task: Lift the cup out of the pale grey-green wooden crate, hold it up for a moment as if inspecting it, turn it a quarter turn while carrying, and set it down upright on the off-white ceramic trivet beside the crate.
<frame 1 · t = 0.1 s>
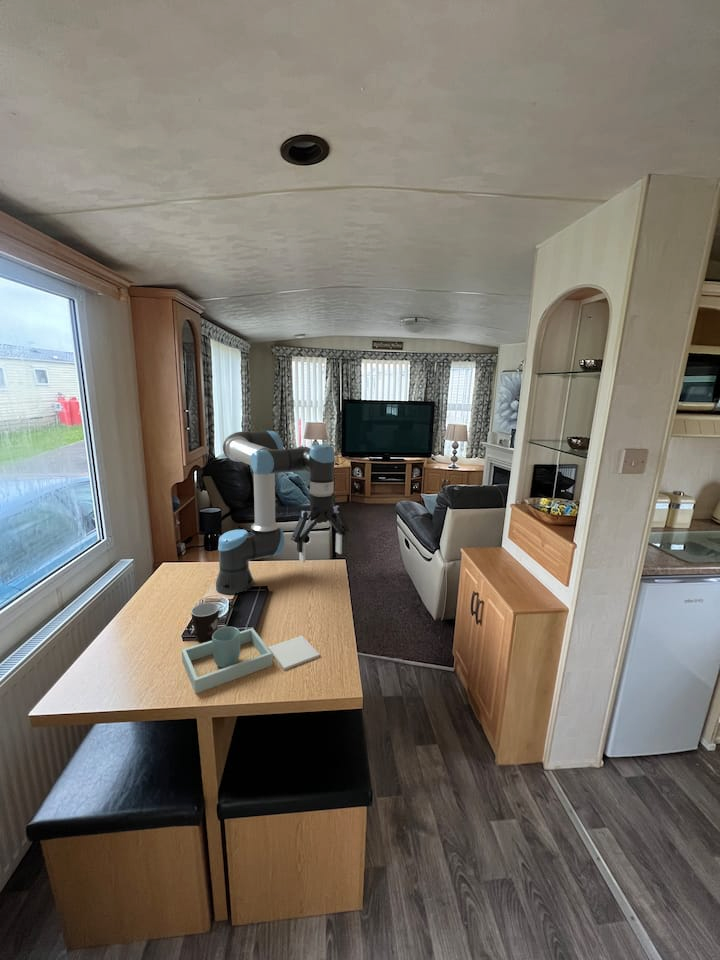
hand: (320, 556, 133), 28 cm above the table, fingers open, 13 cm apart
cup: (227, 664, 122), resting in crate
coffee mug: (202, 639, 134), on the table
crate: (227, 663, 122), on the table
trivet: (293, 652, 128), on the table
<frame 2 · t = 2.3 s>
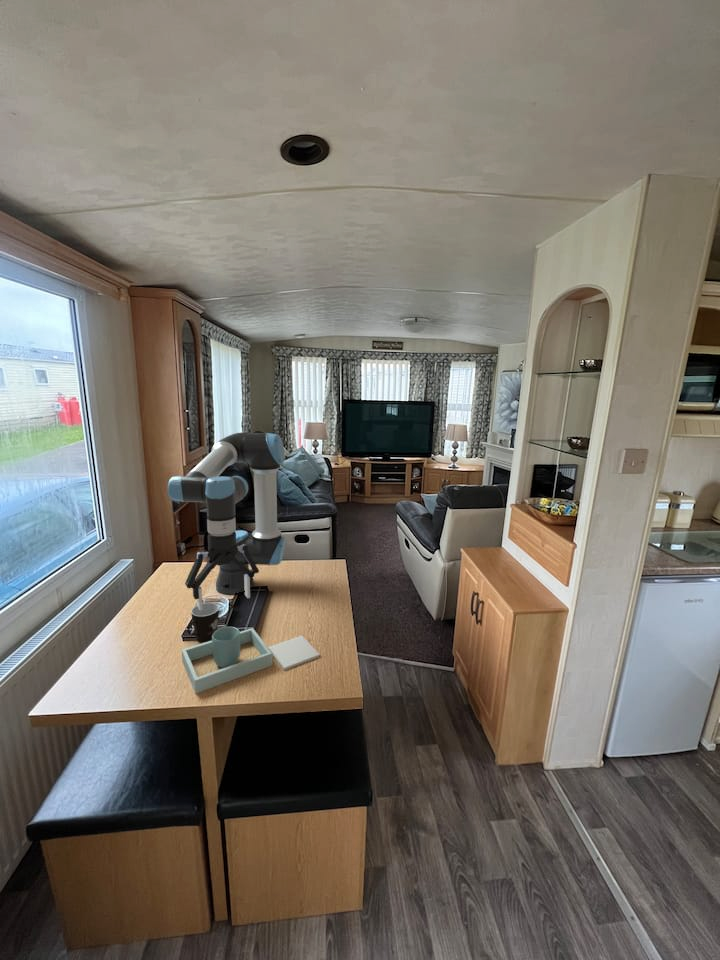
hand: (224, 602, 118), 20 cm above the table, fingers open, 13 cm apart
nothing on the table moved.
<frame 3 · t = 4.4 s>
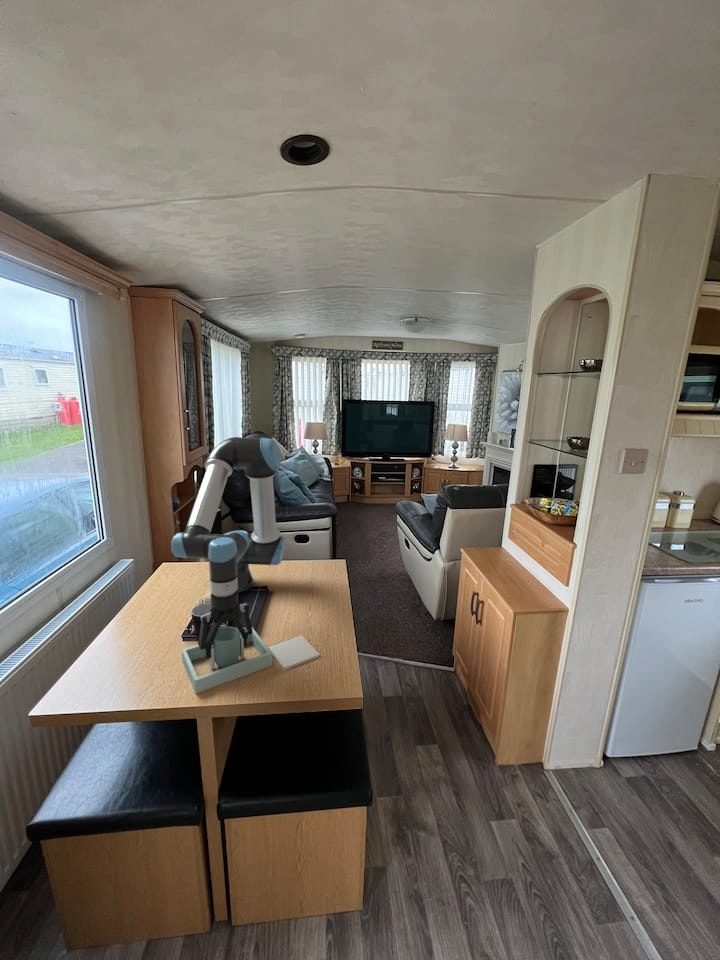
hand: (227, 661, 122), 1 cm above the table, fingers closed on cup, 8 cm apart
cup: (227, 664, 122), resting in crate, touching gripper
everything else where it was.
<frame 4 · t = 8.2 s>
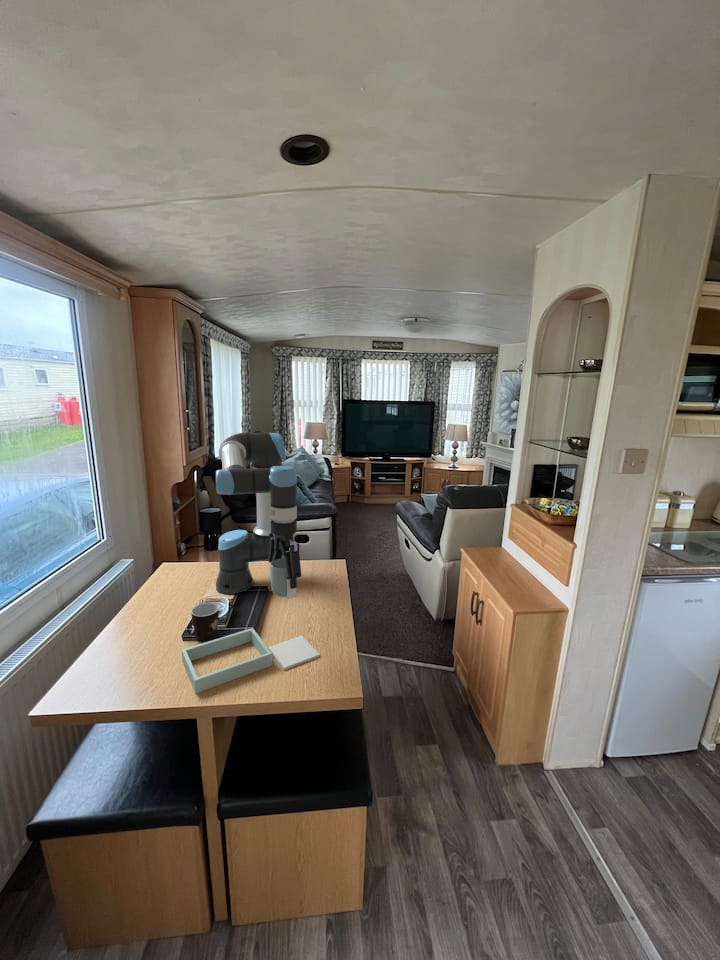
hand: (284, 591, 123), 21 cm above the table, fingers closed on cup, 8 cm apart
cup: (284, 594, 123), point 20 cm above the table, touching gripper
everything else where it was.
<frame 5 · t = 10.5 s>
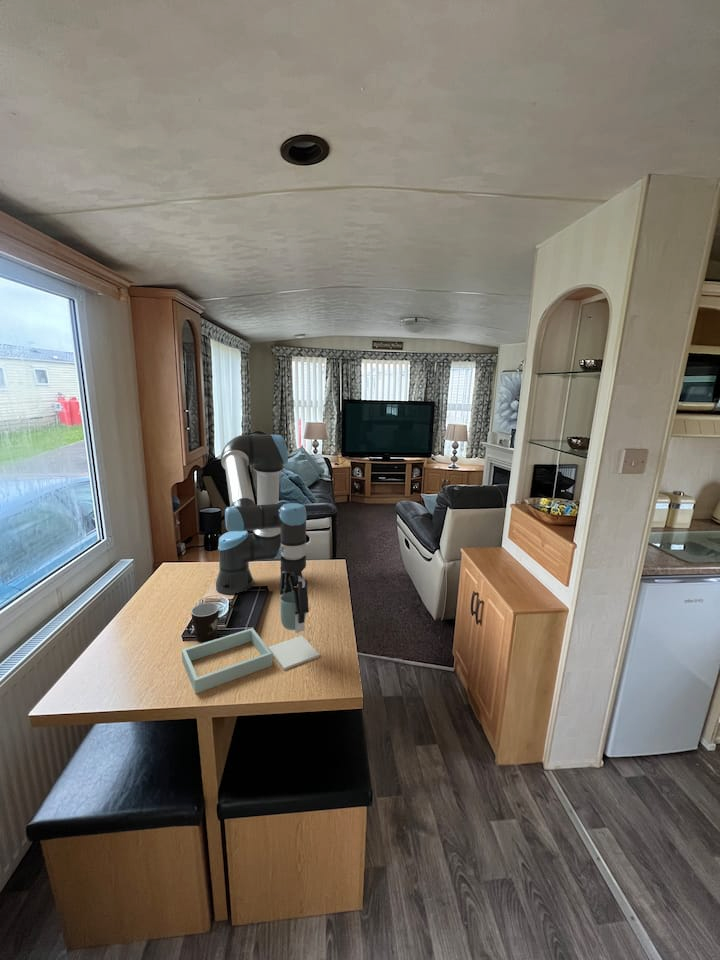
hand: (293, 624, 126), 10 cm above the table, fingers closed on cup, 8 cm apart
cup: (293, 627, 126), point 9 cm above the table, touching gripper
everything else where it was.
when the fingers open (3 cm above the table, at t = 12.3 s): cup drops 2 cm, resting on trivet.
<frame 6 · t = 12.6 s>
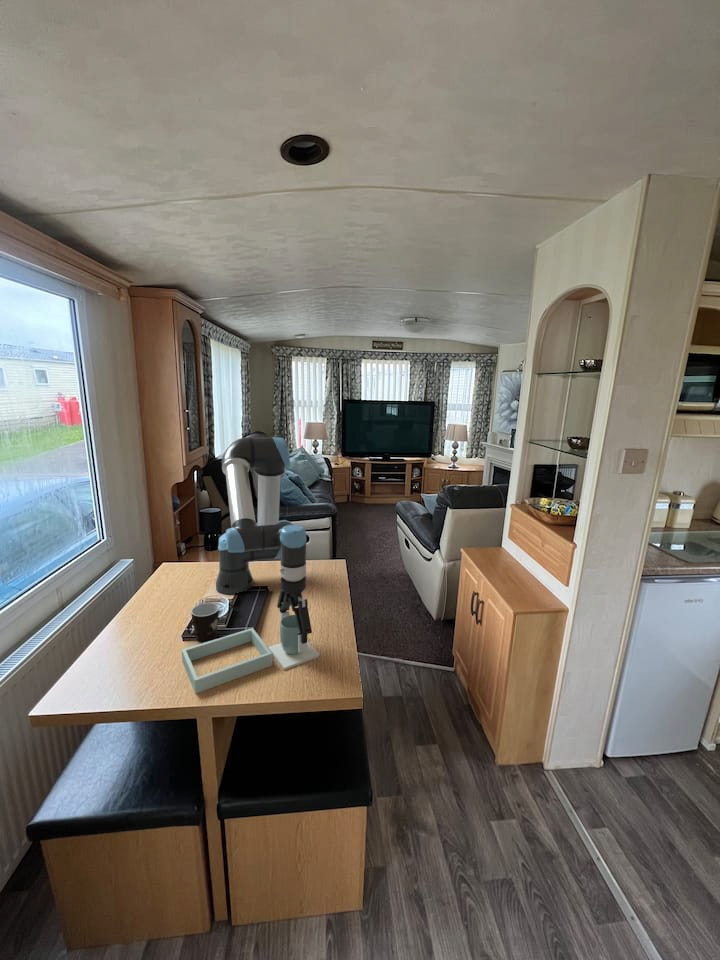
hand: (293, 640, 127), 4 cm above the table, fingers open, 12 cm apart
cup: (293, 650, 128), point 1 cm above the table, touching trivet
everything else where it was.
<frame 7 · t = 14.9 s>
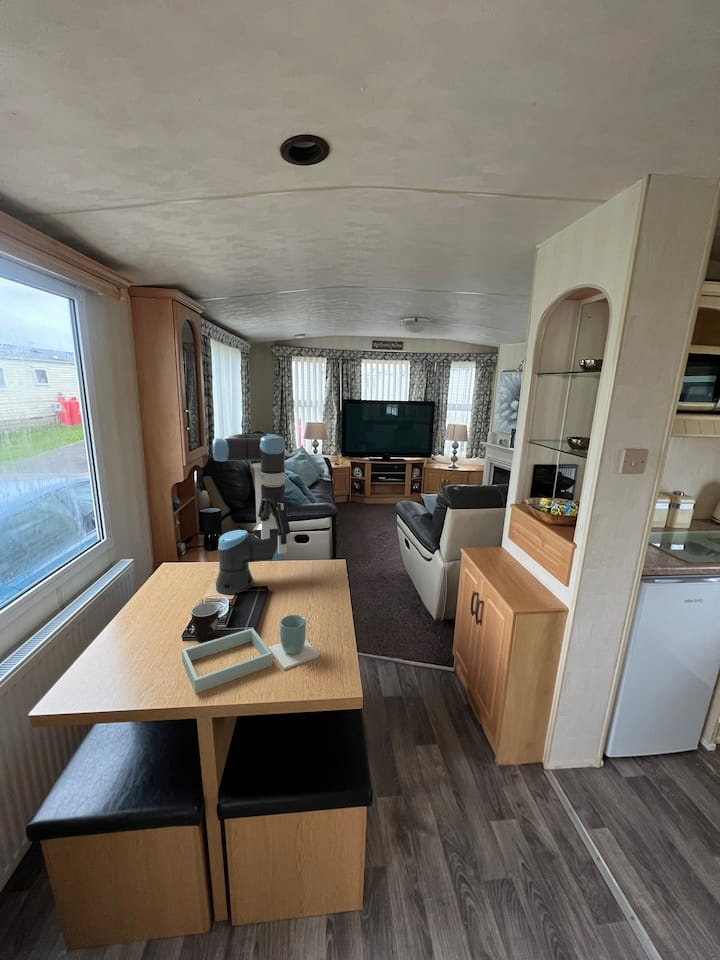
hand: (273, 545, 136), 30 cm above the table, fingers open, 13 cm apart
nothing on the table moved.
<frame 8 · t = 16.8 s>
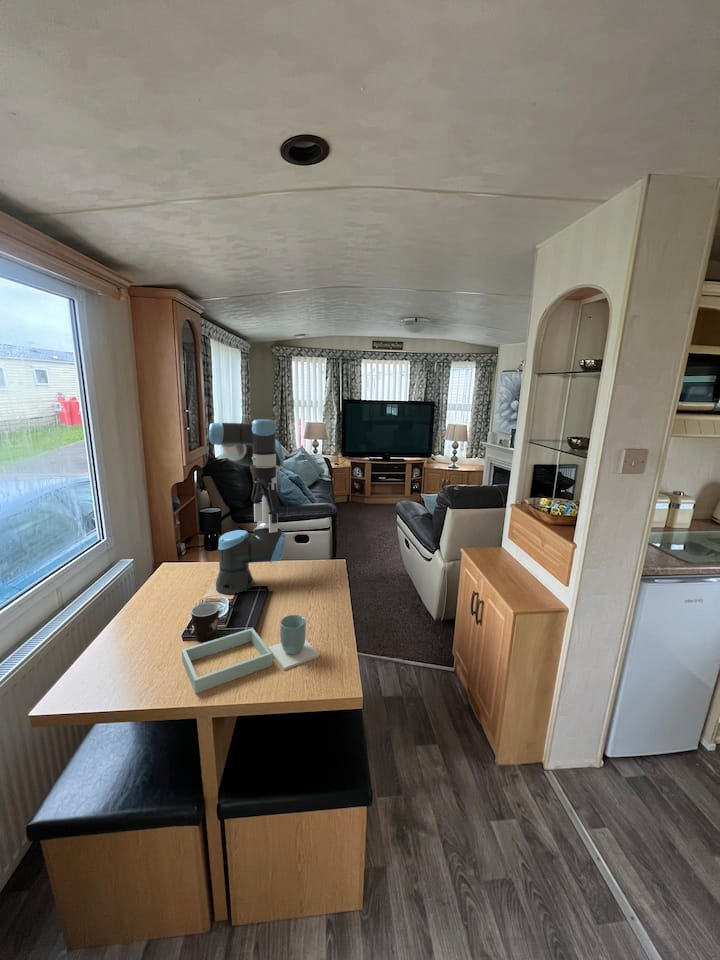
hand: (265, 526, 141), 35 cm above the table, fingers open, 13 cm apart
nothing on the table moved.
at the end: cup inside the target area on the trivet (0.4 cm from its centre), point 0.6 cm above the trivet's base; cup tilted 0°; the gripper is holding nothing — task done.
